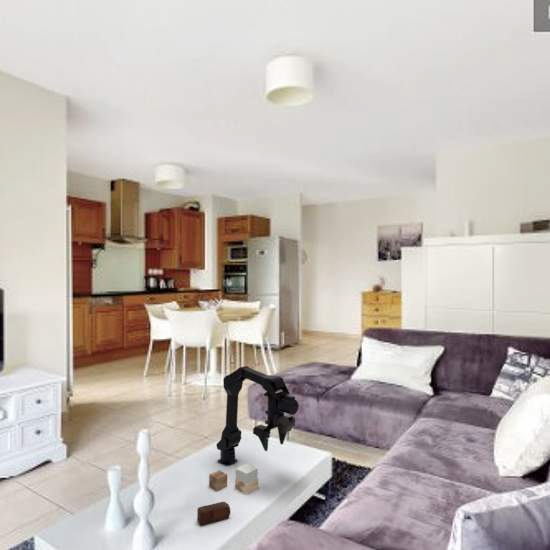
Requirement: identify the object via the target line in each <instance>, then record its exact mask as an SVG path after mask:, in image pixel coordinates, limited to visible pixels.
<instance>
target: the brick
mask: <svg viewBox="0 0 550 550" xmlns="http://www.w3.org/2000/svg"><path fill="white" fill-rule="evenodd" d="M196 512H197V514H196V516H197V517H196V519H197V521H198V524H199V525H200V527H201V526H202V527H203V526H205V525H209V524H214V523H217V522H220V521H225V520H229V518H230V516H231V507H230V505H229V503H228V502H226V501H219V502H216V503H212V504H208V505H202V506H200V507H199V506H198V507H197V511H196Z"/></svg>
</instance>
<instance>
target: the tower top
mask: <svg viewBox="0 0 550 550" xmlns="http://www.w3.org/2000/svg"><path fill="white" fill-rule="evenodd" d="M258 470H259V469H258V467H255V466H253V465H250V463H245V464H243V465H241V466H238V467H237V468H235V479H237V480H239V481H241V482H243V483H245V484H248V483H250V482H252V481H254V480H256V479H257V478H258Z"/></svg>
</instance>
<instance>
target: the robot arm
mask: <svg viewBox="0 0 550 550" xmlns="http://www.w3.org/2000/svg"><path fill="white" fill-rule="evenodd" d="M245 380H248V381H250V382H253V383H255V384H258V385H260V386H261V387H262V389H263V390H264V391H265V392H264V393H263V397H266V398H267V404H266V405H267V407H266V408H267V409H266V410H264V414H266V415H267V417H266V420H264V424H265V425H264V424H258V425H256V426H254V427H253V428H252V434H253V435H255V436H257V438H258V439H259V441H260V444H261V445H262V448H263V451H265V452H268V449H269V439H270V438H271V435H270V434H271V431H272V430H274V429H275V430H276V429H277V433H278V440H279V444H280V445H284V442H285V439H286V436H287V435H288V434H287V433H288V432H291V431H292V429H293V427H295V426H296V418H295V417H294V416H293V415H296V413H297V412H298V410H299V408H300V407H299V406H300V405H299V402H298V401H297V400H296V396H294V395H291V394H290V393H291V392H290V390H289V389H288V387H287V385H286V383H285V381H284V378H283V377H282V376H279V375H273V374H272V375H271V374H270V375H269V374H267V373H266V374H265V373H263V372H261V371H259V370H255V369H254V368H252V367H251V368H250V367H249V366H247V365H245V366H240V367H238V368H237V369H236V370H235V371H233V372H231V373H230V374H226V375H225V376H224V378H223V389H224V391H225V393H226V410H225V411H226V412H225V413H226V414H225V425H224V428H223V430H222V432H221V437H220V440H219V441H218V442H217V443H216V449H217V450H219V451H220V455H219V456H220V458H219V459H217V462H218V463H220V464H222V465H225V466H230V465H232V464H235V463H236V462H237V463H238V459H237V458H236V448H237V447H238V446H239V444H240V443H241V440H242V430H241V429H239V427H238V411H239V410H238V409H239V394H240V392H241V390H242V389H243V383H244V381H245ZM285 414H289V415H290V416H286V415H285Z"/></svg>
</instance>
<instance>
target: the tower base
mask: <svg viewBox="0 0 550 550" xmlns="http://www.w3.org/2000/svg"><path fill="white" fill-rule="evenodd" d="M234 489H235V490H237V491H239V492H240V493H242V494H244V495H249V494H250V493H253V492H255V491H257V490H258V489H259V478H258V477H257V479H256V480H254V481H252V482H250V483H248V484H245V483H243V482H241V481H239V480H237V479H236V478H235V479H234Z"/></svg>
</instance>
